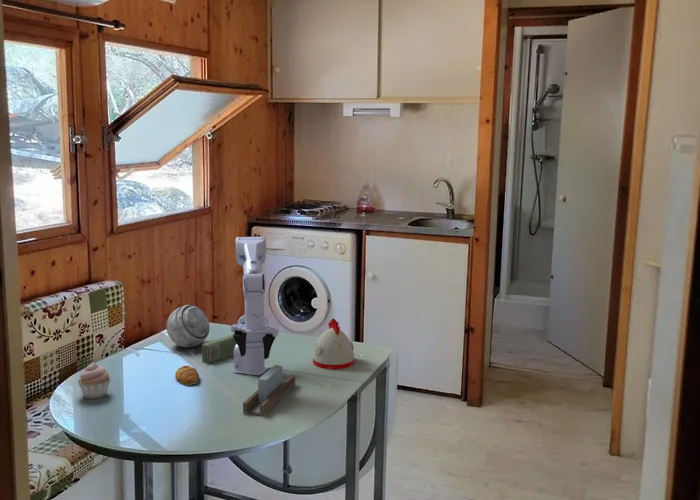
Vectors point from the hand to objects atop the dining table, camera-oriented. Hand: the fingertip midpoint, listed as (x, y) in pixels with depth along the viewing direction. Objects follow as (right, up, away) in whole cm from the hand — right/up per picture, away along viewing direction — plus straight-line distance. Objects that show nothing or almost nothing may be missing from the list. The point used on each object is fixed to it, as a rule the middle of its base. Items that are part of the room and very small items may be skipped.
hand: (254, 356), depth 205 cm
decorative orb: (-29, -2, +38) cm, 48 cm away
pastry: (-21, -9, +6) cm, 24 cm away
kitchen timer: (+23, -6, +24) cm, 34 cm away
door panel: (+6, -10, -7) cm, 14 cm away
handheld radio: (-12, -4, +31) cm, 33 cm away
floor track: (+6, -11, -7) cm, 14 cm away
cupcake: (-45, -10, -7) cm, 47 cm away
